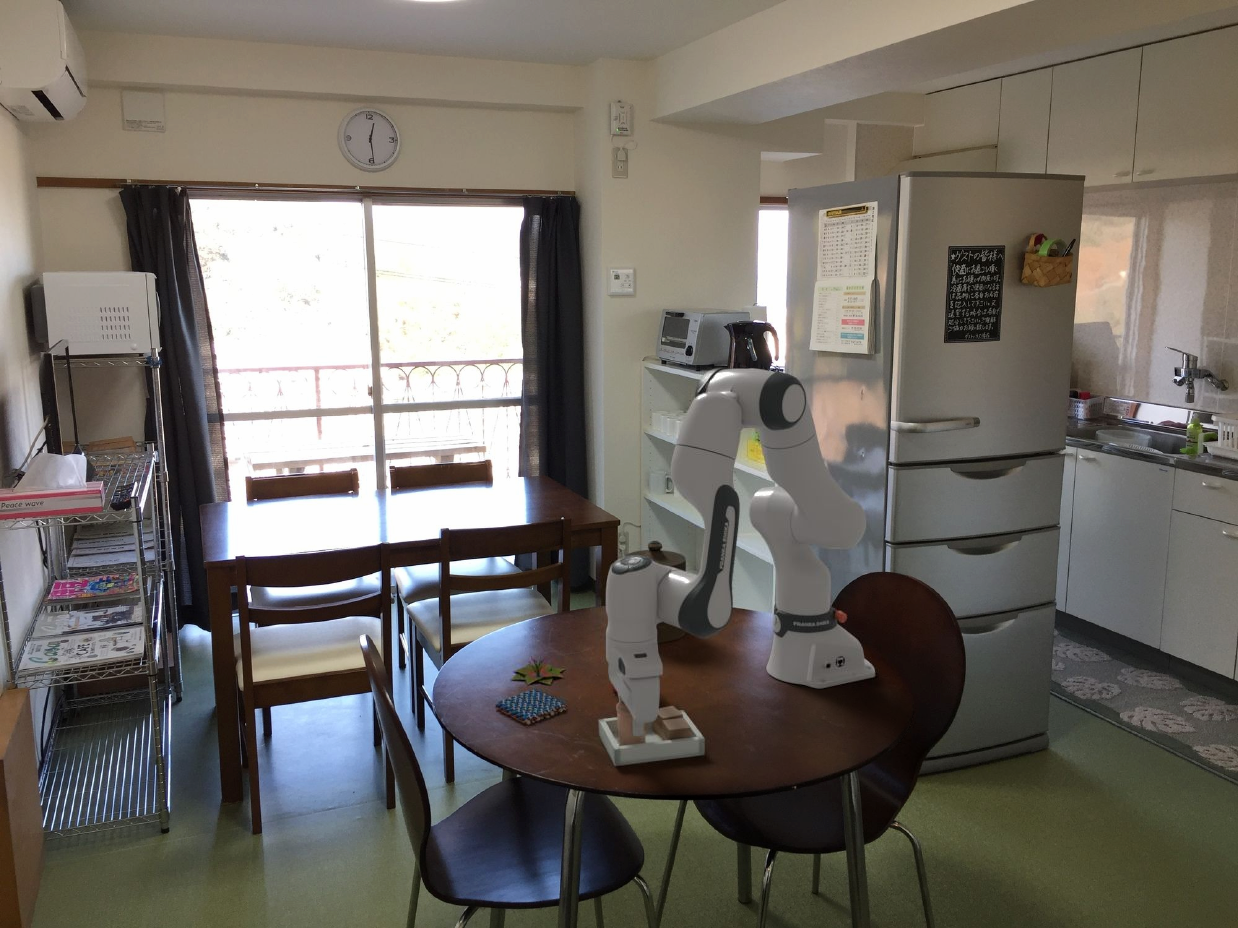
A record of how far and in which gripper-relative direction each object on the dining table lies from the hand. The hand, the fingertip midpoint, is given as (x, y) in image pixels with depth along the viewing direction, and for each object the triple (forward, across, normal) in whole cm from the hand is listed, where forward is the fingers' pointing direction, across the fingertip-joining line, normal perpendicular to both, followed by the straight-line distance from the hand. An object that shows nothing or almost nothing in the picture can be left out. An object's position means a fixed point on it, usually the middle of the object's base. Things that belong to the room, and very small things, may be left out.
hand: (631, 724), depth 169 cm
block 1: (+4, -2, +8) cm, 9 cm away
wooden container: (+5, -55, +20) cm, 59 cm away
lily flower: (+5, -36, -10) cm, 38 cm away
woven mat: (+5, -20, -14) cm, 25 cm away
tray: (+4, 0, +4) cm, 5 cm away
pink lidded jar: (+4, 0, 0) cm, 4 cm away
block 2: (+4, +2, +8) cm, 9 cm away
